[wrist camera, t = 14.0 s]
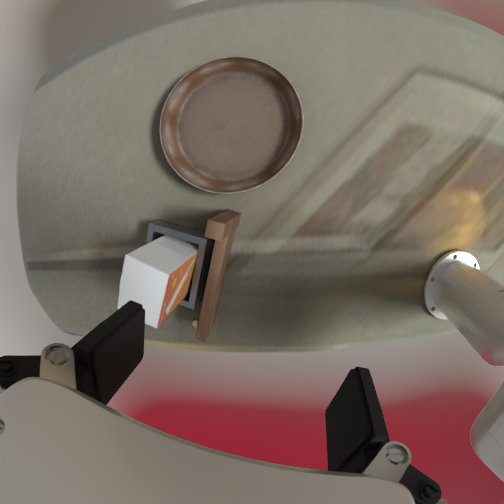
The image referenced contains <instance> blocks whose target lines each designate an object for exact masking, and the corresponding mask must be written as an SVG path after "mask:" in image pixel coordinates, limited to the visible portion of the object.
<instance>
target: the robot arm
mask: <svg viewBox="0 0 504 504" xmlns="http://www.w3.org/2000/svg"><path fill="white" fill-rule="evenodd" d="M424 301H425V305H426V307H427V309H428V310H429V312H430V313H431V314H432V315H433V316H434V317H436V318H438V319H442V320H447V319H449V320H450V321H451V323H452V324H453V325H454V326H455V327H456V328H457V329H458V330H459V332H460V333H461V334H462V335H463V336H464V337H465V338H466V340H467V341H468V342H469V343H470V344H471V345H472V347H473V348H474V349H475V350H476V351H477V353H478V354H479V355H480V356H481V357H482V359H483V360H484V361H485V362H487V363H488V364H490V365H493V366H504V285H502V284H501V283H499V282H498V281H496V280H495V279H493V278H492V277H490V276H488V275H487V274H485V273H484V272H482V271H480V268H479V265H478V262H477V261H476V259H475V258H474V257H473V256H472V255H471V254H470V253H468V252H466V251H463V250H453V251H451V252H448V253H446V254H445V255H443V256H442V257H441V258H440V259H439V260H438V261H437V262H436V263H435V264H434V265H433V267H432V269H431V270H430V272H429V274H428V276H427V279H426V282H425V287H424ZM144 328H145V309H143V306H142V304H139V303H137V302H134V301H132V300H130V301H128V302H127V303H126V304H125V305H123V306H122V307H121V308H120V309H118V310H117V311H116V312H115V313H114V314H112V315H111V316H110V317H109V318H107V319H106V320H104V321H103V322H101V323H100V324H99V325H98V326H97V327H95V328H94V329H93V330H92V331H91V332H89V333H88V334H87V335H86V336H85V337H84V338H82V339H81V340H80V341H79V342H78V343H76V344H75V345H74V346H73V347H72V348H70V347H69V346H67V345H65V344H61V343H53V344H50V345H48V346H46V347H45V348H44V349H43V350H42V353H41V355H40V356H2V357H0V504H448V503H447V502H446V501H445V500H442V501H441V500H440V497H441V489H440V487H439V485H438V484H437V483H436V482H435V481H433V480H432V479H430V478H429V477H427V476H426V475H424V474H423V473H422V472H420V471H419V470H417V469H416V468H414V467H413V466H412V465H410V462H411V453H410V451H409V449H408V448H407V447H406V446H405V445H404V444H402V443H400V442H396V441H394V442H393V441H392V442H390V441H389V436H388V433H387V429H386V425H385V421H384V417H383V414H382V410H381V407H380V403H379V401H378V397H377V394H376V391H375V387H374V384H373V381H372V377H371V374H370V371H369V369H366V368H361V367H356V368H355V369H351V370H350V372H349V373H348V375H347V377H346V378H345V380H344V382H343V384H342V385H341V387H340V389H339V390H338V392H337V393H336V395H335V397H334V398H333V400H332V401H331V403H330V404H329V406H328V408H327V409H326V413H325V417H326V433H327V453H328V471H323V470H313V469H306V468H297V467H290V466H284V465H278V464H273V463H267V462H262V461H258V460H253V459H248V458H244V457H240V456H236V455H232V454H228V453H224V452H221V451H217V450H214V449H211V448H208V447H204V446H201V445H198V444H195V443H192V442H189V441H186V440H184V439H181V438H178V437H175V436H173V435H170V434H167V433H165V432H163V431H160V430H158V429H155V428H153V427H150V426H148V425H146V424H144V423H141V422H139V421H137V420H135V419H133V418H131V417H128V416H126V415H124V414H122V413H120V412H118V411H116V410H114V409H112V408H110V407H108V406H106V405H107V403H108V402H109V401H110V399H111V398H112V397H113V396H114V394H115V393H116V392H117V391H118V389H119V388H120V387H121V385H122V384H123V383H124V382H125V380H126V379H127V378H128V377H129V375H130V374H131V373H132V372H133V370H134V369H135V368H136V367H137V365H138V364H139V363H140V362H141V360H142V358H143V353H144ZM470 440H471V444H472V447H473V449H474V451H475V453H476V454H477V455H478V457H479V458H480V459H481V460H482V461H483V462H484V463H485V464H486V465H487V466H488V467H489V468H490V469H491V470H492V471H493V472H494V473H495V474H496V475H497V476H498V477H499V478H500V479H501V480H502V481H503V482H504V382H503V383H502V385H501V386H500V388H499V389H498V390H497V392H496V393H495V395H494V396H493V397H492V398H491V400H490V401H489V402H488V404H487V405H486V406H485V408H484V409H483V410H482V411H481V413H480V414H479V416H478V417H477V418H476V420H475V421H474V423H473V425H472V428H471V432H470Z"/></svg>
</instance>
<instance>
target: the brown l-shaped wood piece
mask: <svg viewBox="0 0 504 504" xmlns="http://www.w3.org/2000/svg"><path fill="white" fill-rule="evenodd" d="M240 216H241V213H239V212H235V211H231V210H227V211H224V212H222V213H220V214H218V215H217V216H215V217H213V218H211V219H209V220H208V221H207V226H206V231H205V236H204V237H207V238H211V239H214V240H215V244H214V249H213V254H212V258H211V263H210V268H209V273H208V278H207V283H206V288H205V293H204V298H203V303H202V308H201V314H200V319H199V318H196V317H195V318H194V319H193V322H192V327H195V328H198V330H197V335H196V339H198V340H200V341H203V342H205V341H206V339H207V337H208V335H209V333H210V331H211V330H212V328H213V325H214V320H215V316H216V311H217V307H218V302H219V298H220V294H221V289H222V285H223V280H224V276H225V272H226V267H227V263H228V259H229V254H230V250H231V246H232V242H233V238H234V233H235V229H236V227H238V224H239V220H240Z"/></svg>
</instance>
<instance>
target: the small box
mask: <svg viewBox="0 0 504 504" xmlns="http://www.w3.org/2000/svg"><path fill="white" fill-rule="evenodd" d="M198 249H199V245H197V244H195V243H192V242H189V241H186V240H182V239H179V238H175V237H172V236H169V235H164V236H162V237H160V238H158V239H156V240H154V241H152V242H150V243H148V244H146V245H144V246H142V247H140V248H138V249H136V250H134V251H132V252H130V253H128V254H126V255H125V259H124V264H123V270H122V275H121V280H120V286H119V298H118V306H117V308H118V309H120V308H121V307H122V306H123V305H125V304H126V303H127V302H128V301H130V300H132V301H134V302H137V303H139V304H142V306H143V309H145V323H146V324H148V325H150V326H152V327H154V328H156V329H157V328H158V327H159V326H160V325H161V323H162V322H163V321H164V320H165V319H166V318H167V317H168V315H169V314H170V313H171V312H172V311H173V310H174V309H175V308H176V306H177V305H178V304H179V303H180V302H181V301H182V300H183V299H184V298H185V296H186V295H187V294H188V293H189V292H190V291H191V286H192V281H193V275H194V270H195V264H196V259H197V254H198Z"/></svg>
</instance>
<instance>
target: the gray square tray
mask: <svg viewBox="0 0 504 504" xmlns="http://www.w3.org/2000/svg"><path fill="white" fill-rule="evenodd" d="M164 235H169V236H172V237H175V238H179V239H182V240H186V241H189V242H192V243H195V244H197V245H199V249H198V254H197V259H196V264H195V270H194V275H193V281H192V286H191V291H190V292H189V293H188V294H187V295H186V296H185V298H184V299H183V300H182V301H181V302H180V303H179V305H182V306H185V307H188V308H191V309H195V307H196V306H197V305H198V303H199V302H200V301H201V296H202V291H203V286H204V281H205V276H206V271H207V266H208V261H209V256H210V252H211V247H212V242H213V239H211V238H207V237H204V236H205V232H203V231H199V230H196V229H192V228H189V227H185V226H181V225H178V224H174V223H171V222H167V221H163V220H160V219H159V220H156V221H153V222H151V223H149V226H148V233H147V240H146V244H148V243H150V242H152V241H154V240H156V239H158V238H160V237H162V236H164Z"/></svg>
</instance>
